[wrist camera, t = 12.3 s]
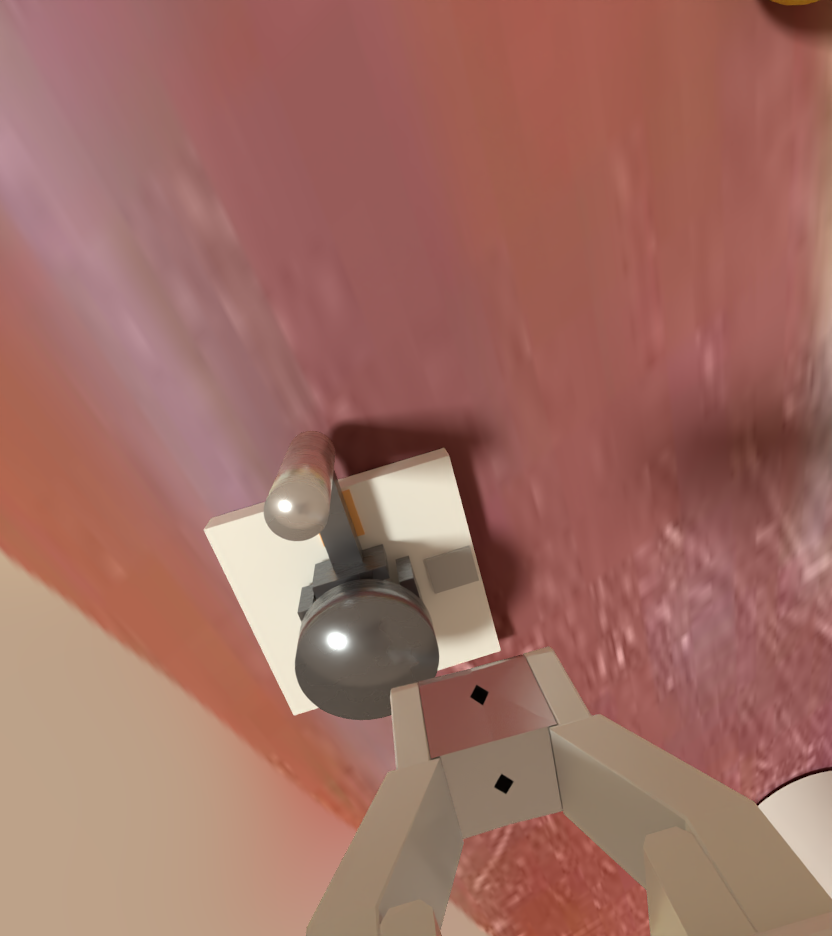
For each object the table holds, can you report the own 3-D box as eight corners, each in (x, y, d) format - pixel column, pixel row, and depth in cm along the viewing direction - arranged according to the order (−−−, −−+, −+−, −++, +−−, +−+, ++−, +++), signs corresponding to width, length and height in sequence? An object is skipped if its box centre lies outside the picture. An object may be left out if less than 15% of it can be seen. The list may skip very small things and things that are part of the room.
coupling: (370, 412, 25) (376, 457, 18) (436, 628, 30) (462, 731, 23) (238, 450, 25) (192, 511, 18) (327, 662, 30) (319, 776, 23)
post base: (494, 635, 33) (517, 691, 28) (296, 697, 33) (286, 764, 28) (444, 447, 28) (462, 477, 24) (211, 518, 28) (182, 562, 23)
